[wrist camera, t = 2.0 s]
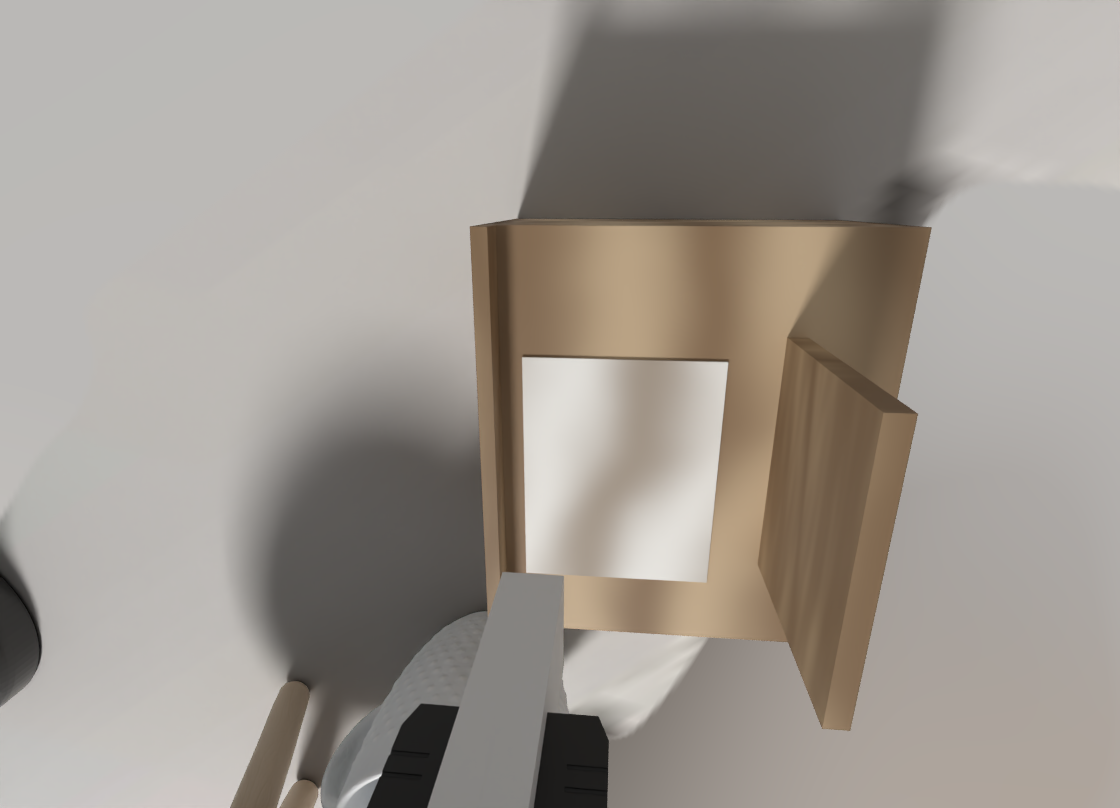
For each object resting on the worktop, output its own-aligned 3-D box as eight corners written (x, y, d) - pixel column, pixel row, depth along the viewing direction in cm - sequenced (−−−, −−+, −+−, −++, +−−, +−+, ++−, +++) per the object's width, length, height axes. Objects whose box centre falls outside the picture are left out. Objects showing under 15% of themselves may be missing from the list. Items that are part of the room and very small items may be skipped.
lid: (498, 615, 28) (448, 793, 20) (483, 224, 22) (402, 237, 14) (842, 636, 27) (947, 836, 18) (923, 226, 21) (1131, 243, 13)
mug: (412, 741, 43) (330, 960, 30) (338, 623, 40) (214, 812, 27) (603, 692, 40) (598, 913, 27) (538, 559, 37) (500, 740, 24)
